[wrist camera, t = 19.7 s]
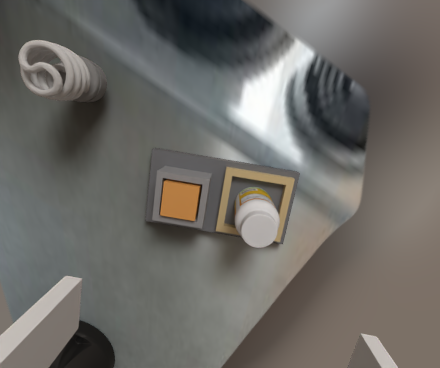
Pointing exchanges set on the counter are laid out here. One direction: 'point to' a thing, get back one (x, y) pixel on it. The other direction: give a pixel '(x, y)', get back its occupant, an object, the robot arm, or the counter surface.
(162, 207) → the switch button
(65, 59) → the light bulb
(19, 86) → the counter surface
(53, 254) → the counter surface
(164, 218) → the base
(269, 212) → the supplement bottle
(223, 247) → the counter surface
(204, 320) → the counter surface
